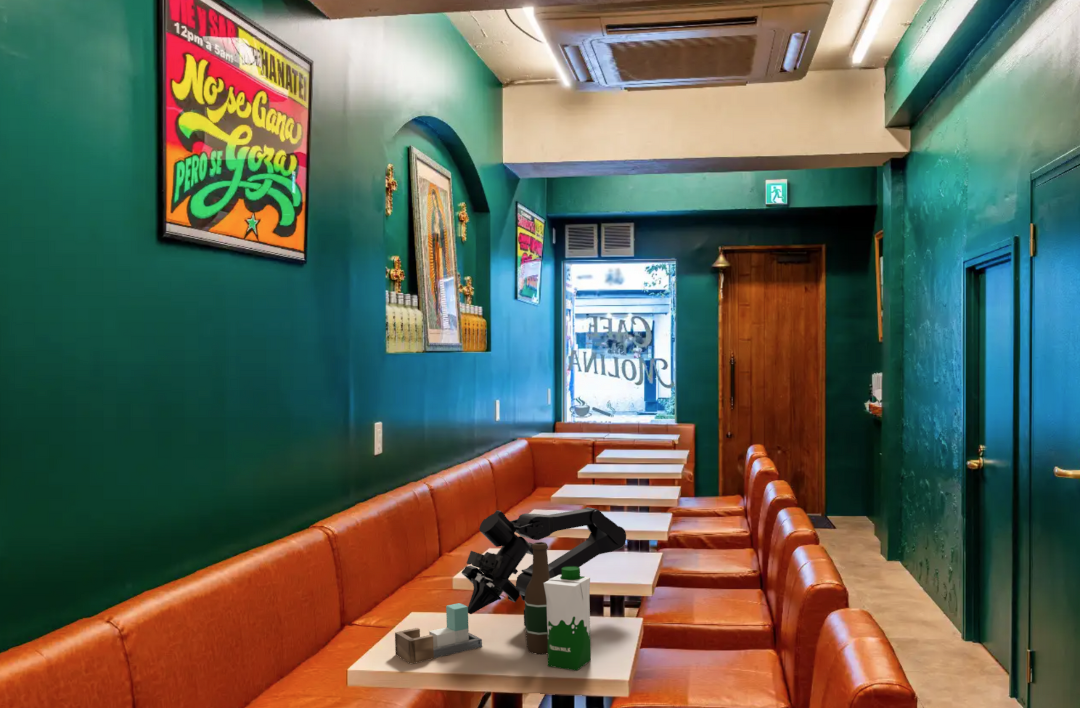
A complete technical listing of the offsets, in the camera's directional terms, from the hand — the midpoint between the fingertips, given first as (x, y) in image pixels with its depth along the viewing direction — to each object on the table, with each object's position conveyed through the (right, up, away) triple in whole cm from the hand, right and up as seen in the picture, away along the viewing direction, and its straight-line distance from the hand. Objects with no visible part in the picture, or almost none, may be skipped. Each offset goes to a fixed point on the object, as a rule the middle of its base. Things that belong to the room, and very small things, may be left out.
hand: (468, 612), depth 204 cm
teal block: (-4, -7, -3) cm, 9 cm away
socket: (-12, -7, -8) cm, 16 cm away
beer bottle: (+17, -7, -5) cm, 19 cm away
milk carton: (+23, -7, -15) cm, 28 cm away
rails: (-3, -7, -2) cm, 8 cm away
